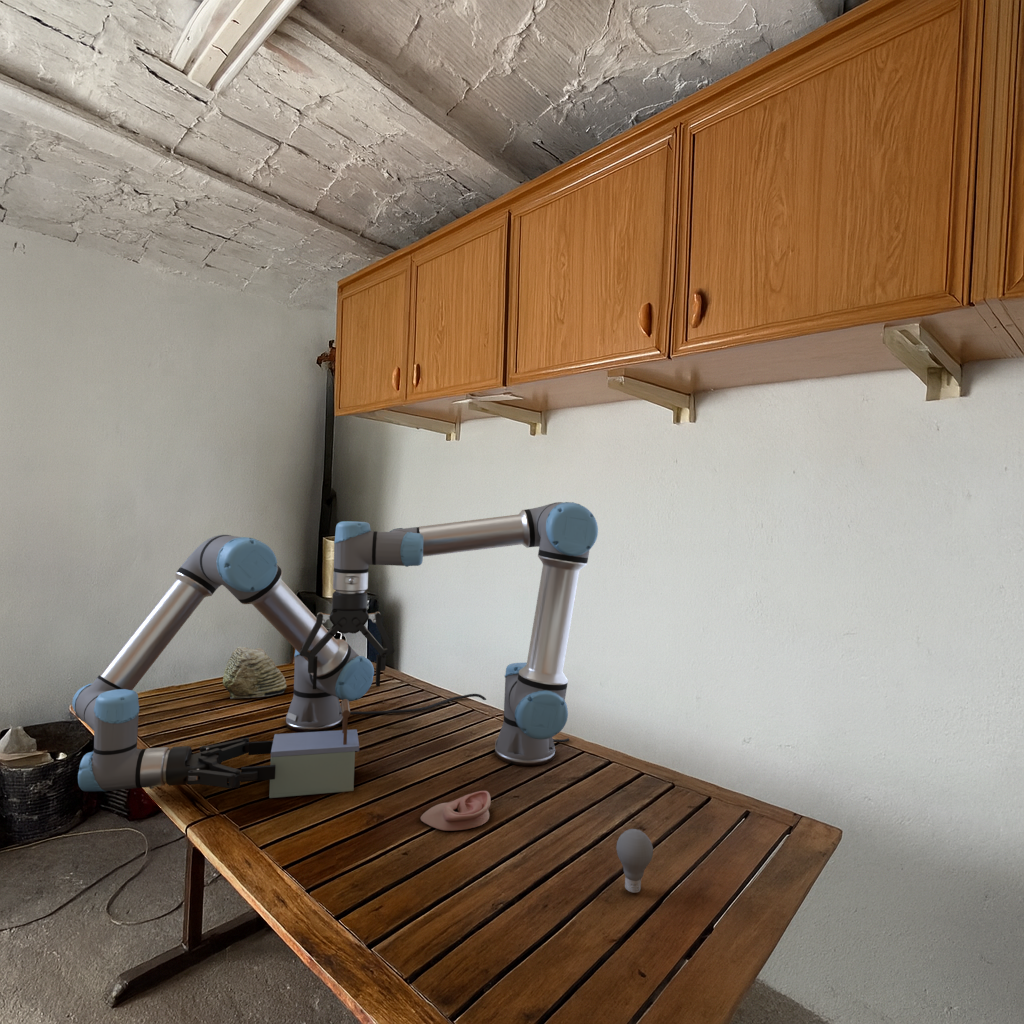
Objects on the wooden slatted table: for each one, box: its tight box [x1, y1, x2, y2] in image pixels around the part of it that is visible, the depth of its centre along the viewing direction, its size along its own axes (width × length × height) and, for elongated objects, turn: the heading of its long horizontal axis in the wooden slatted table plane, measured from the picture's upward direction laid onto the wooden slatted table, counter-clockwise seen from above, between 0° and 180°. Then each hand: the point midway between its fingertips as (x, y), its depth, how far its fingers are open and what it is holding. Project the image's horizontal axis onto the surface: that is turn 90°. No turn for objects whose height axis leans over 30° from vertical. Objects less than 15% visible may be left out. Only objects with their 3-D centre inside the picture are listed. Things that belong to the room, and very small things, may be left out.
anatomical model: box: [419, 790, 492, 832], centre depth 127 cm, size 13×4×12 cm
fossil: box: [222, 646, 288, 699], centre depth 198 cm, size 9×18×15 cm, turn 132°
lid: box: [270, 699, 360, 758], centre depth 139 cm, size 18×10×9 cm, turn 107°
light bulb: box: [615, 828, 654, 894], centre depth 106 cm, size 6×6×10 cm
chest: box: [268, 751, 356, 799], centre depth 139 cm, size 17×10×9 cm, turn 107°
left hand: (277, 758), depth 137 cm, fingers open, 13 cm apart
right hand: (346, 686), depth 141 cm, fingers open, 13 cm apart
